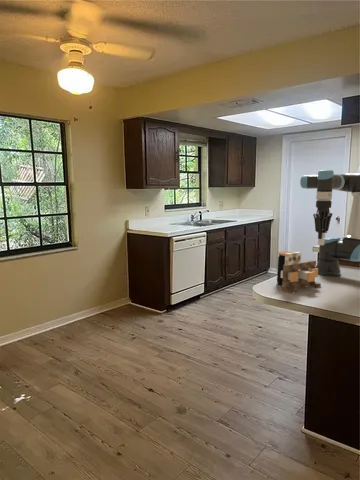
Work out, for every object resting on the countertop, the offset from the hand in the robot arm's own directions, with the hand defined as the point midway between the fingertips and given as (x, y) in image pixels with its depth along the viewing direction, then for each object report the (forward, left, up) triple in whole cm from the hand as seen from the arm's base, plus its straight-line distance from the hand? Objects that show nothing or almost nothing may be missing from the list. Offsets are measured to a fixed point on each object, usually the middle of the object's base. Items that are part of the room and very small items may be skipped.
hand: (320, 244), depth 188 cm
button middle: (+7, -3, -19) cm, 20 cm away
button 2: (-1, -7, -19) cm, 20 cm away
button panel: (+7, -5, -24) cm, 26 cm away
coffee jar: (+7, -15, -25) cm, 30 cm away
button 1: (+15, -7, -19) cm, 25 cm away
